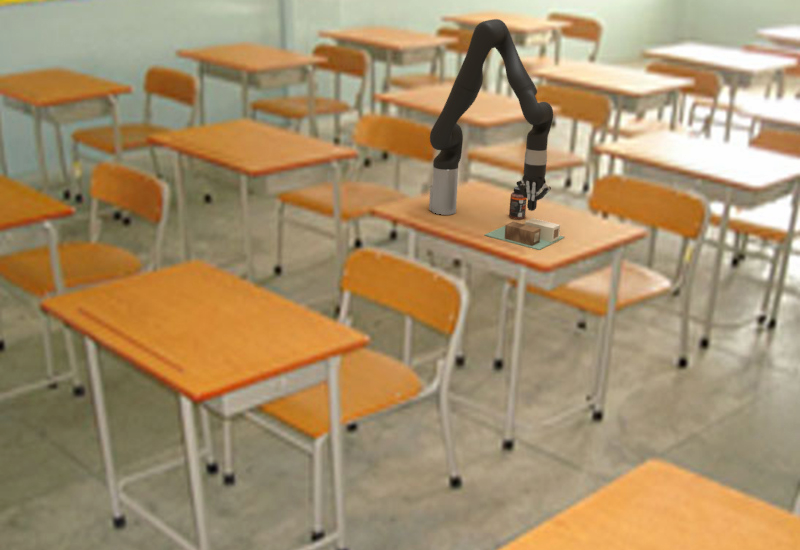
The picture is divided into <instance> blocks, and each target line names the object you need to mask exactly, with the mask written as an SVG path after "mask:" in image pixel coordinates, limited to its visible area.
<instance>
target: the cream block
mask: <svg viewBox="0 0 800 550" xmlns="http://www.w3.org/2000/svg"><path fill="white" fill-rule="evenodd" d="M524 224H525V225H529V226H533V227H537V228H541V232H540V239H541V240H545V241H549V242H553V241H555V240H557V239H559V236H560V232H561V224H558V223H554V222H550V221H546V220H542V219H537V218H534V217H532V218H530V219H528V220H525V222H524Z"/></svg>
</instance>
